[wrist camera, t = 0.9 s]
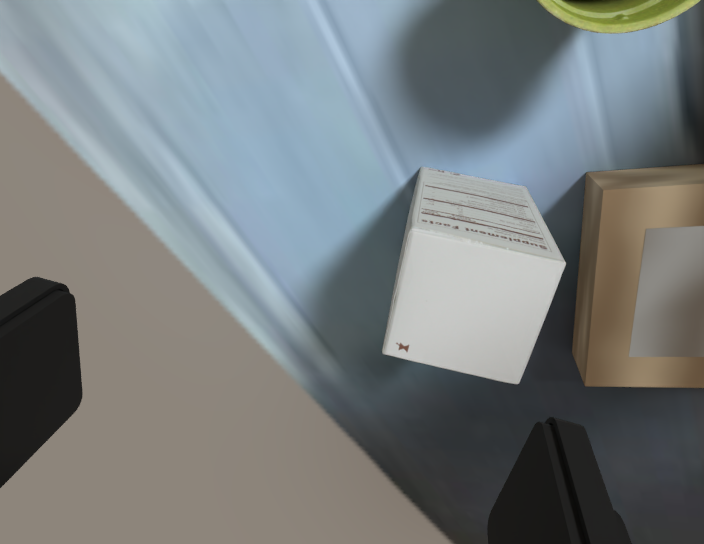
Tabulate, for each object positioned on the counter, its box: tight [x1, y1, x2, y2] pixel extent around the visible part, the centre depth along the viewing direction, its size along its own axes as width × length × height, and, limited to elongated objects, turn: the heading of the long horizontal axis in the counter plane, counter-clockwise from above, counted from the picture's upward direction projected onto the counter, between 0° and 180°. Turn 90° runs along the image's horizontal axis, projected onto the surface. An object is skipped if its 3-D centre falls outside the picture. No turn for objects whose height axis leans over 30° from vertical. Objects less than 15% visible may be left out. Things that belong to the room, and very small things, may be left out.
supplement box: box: [382, 167, 566, 384], centre depth 29 cm, size 7×7×13 cm
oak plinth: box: [572, 164, 704, 388], centre depth 31 cm, size 14×14×4 cm
